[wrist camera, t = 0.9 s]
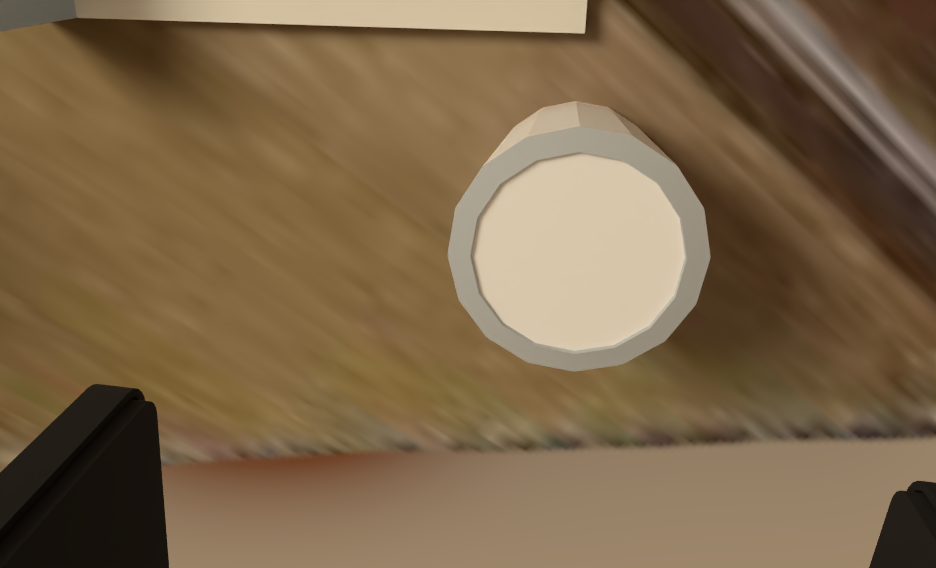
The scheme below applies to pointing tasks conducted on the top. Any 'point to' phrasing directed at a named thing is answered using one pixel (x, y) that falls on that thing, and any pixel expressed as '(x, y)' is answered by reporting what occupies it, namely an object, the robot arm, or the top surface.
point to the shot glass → (578, 241)
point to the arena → (316, 13)
